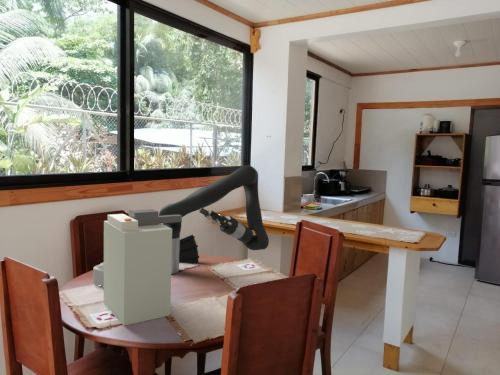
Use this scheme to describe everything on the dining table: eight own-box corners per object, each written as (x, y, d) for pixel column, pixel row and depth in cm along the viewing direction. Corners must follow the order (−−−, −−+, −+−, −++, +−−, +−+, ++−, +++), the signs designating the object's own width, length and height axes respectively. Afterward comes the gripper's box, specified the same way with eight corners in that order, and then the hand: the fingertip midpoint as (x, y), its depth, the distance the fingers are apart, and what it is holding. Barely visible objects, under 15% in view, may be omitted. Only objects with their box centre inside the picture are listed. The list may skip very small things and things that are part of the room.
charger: (128, 223, 146) (128, 210, 145) (176, 219, 157) (177, 207, 157) (134, 226, 141) (134, 212, 141) (183, 222, 152) (184, 209, 152)
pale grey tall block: (103, 302, 152) (103, 211, 149) (145, 294, 162) (147, 209, 159) (123, 325, 133) (124, 222, 130) (170, 315, 143) (172, 218, 140)
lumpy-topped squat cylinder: (119, 287, 169) (119, 267, 168) (89, 286, 169) (89, 266, 168) (126, 279, 179) (127, 261, 178) (98, 278, 179) (98, 259, 178)
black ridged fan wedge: (202, 261, 206) (191, 235, 206) (180, 270, 208) (169, 244, 208) (204, 259, 210) (193, 234, 209) (182, 268, 212) (171, 242, 212)
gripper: (227, 217, 179) (201, 201, 170) (245, 222, 167) (218, 205, 158) (220, 231, 177) (192, 216, 168) (237, 238, 166) (209, 222, 157)
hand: (205, 211), depth 163 cm, fingers open, 8 cm apart
